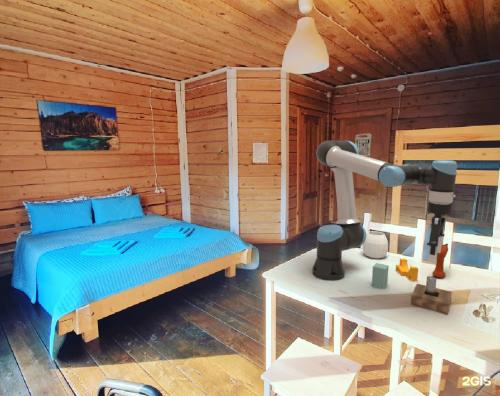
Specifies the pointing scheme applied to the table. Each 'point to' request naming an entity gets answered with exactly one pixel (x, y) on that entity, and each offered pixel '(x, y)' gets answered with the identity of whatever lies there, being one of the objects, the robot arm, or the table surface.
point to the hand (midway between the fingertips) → (434, 257)
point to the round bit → (431, 285)
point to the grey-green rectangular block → (380, 275)
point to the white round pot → (375, 245)
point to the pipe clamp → (407, 270)
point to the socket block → (431, 299)
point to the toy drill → (440, 261)
